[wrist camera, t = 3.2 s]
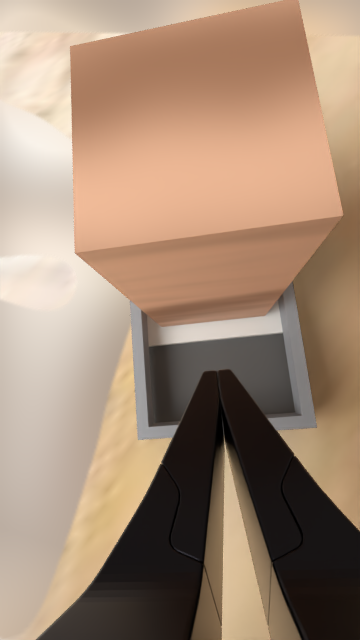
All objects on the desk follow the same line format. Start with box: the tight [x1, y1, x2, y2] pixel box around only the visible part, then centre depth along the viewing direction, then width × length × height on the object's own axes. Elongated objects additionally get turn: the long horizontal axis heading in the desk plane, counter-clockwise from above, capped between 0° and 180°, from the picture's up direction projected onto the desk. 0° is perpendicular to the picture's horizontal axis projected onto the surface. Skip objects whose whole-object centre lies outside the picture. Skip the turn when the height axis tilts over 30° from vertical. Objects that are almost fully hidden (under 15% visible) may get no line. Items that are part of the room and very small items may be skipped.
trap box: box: [130, 281, 317, 440], centre depth 18 cm, size 22×9×2 cm, turn 5°
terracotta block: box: [70, 0, 344, 327], centre depth 13 cm, size 6×6×11 cm
